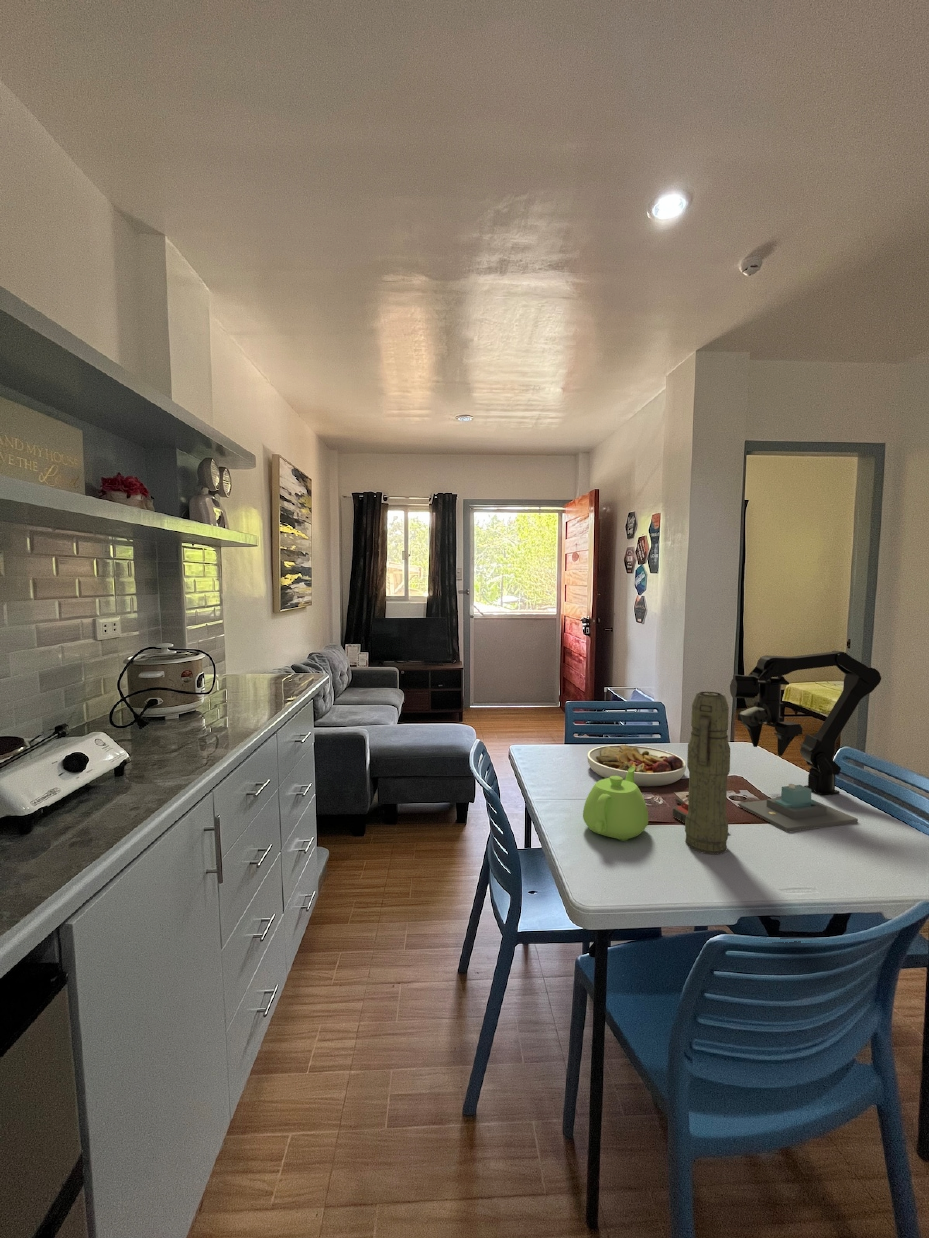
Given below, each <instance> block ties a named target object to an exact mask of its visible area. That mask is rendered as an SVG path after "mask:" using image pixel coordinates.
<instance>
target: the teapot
mask: <svg viewBox="0 0 929 1238" xmlns="http://www.w3.org/2000/svg"><path fill="white" fill-rule="evenodd" d="M634 772H635V767H633V766H632V767H630V768H629V770H628V772H627V776H626V779H625V780H623V778H622V777H620V776H610V777H609V778H601V779H599V780H597V782H595V783H594V785H593V786H592V788H591V790H590V791H589V792H588V794H587V797H586V799H585V802H584V806H583V811H582V812H583V813H582V819H583V821H584V823H585V825H586V826H587V827H588V829H589V830H590V831H591V832H593V833H595V834H599V835H601V836H604V837H609V838H612V839H613V838H614V839H617V840H618V841H623V842H627V841H628V840H629V839H633V838H635V837H638V836H639V835H640V834H642V833H643V831H644V830H645V829H646V828H647V826H648V824H649V821H650V820H649V811H648V806H647V803H646V800H645V799H644V796H643V793H642V792H641V790H640V788H639V786H637V785H636V784H634Z"/></svg>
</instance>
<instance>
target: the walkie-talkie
mask: <svg viewBox="0 0 929 1238" xmlns="http://www.w3.org/2000/svg"><path fill="white" fill-rule="evenodd" d="M674 800H675V802H677V803H679V804H680V805H676V806H675V805H674V806H673V807H672V817H673V816H674V817H676V818H678V819H680V820H681V821H683V822H684V823H685V818H686V816H687V814H688V801H687V802H686V801H684V800H683V799H680V798H679V797H675V799H674ZM674 817H673V818H674ZM681 821H680V822H681ZM684 823H683V824H684Z"/></svg>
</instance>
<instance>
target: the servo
mask: <svg viewBox="0 0 929 1238" xmlns="http://www.w3.org/2000/svg"><path fill="white" fill-rule="evenodd" d="M804 786H805V785H801V784H794V783H788V785H787V786H781V792H780V793H781V795H780V796H781V797H780V798H781V800H775V803H777V804H779V805H781V806H784V807H786V808H787V807H791V808H793V809H795V808H803V807H811V804H817V802H818V800H817V801H816V800H814V799H812V791H811V790H812V789H809V788H807V787H804Z"/></svg>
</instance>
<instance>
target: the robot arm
mask: <svg viewBox="0 0 929 1238" xmlns="http://www.w3.org/2000/svg"><path fill="white" fill-rule="evenodd" d="M825 667H826V668H827V667H836V668H837V669H838V670H839V671H840V672H842V673H844V675H845V676H844V678H843V688H842V692H841V694H840V695H839V697H838V698H837V700H836V702H835V703H834V705H833V707H832V708H831V709H830V712H829V713H828V716H827V717H826V719H825V720H824V722H823V723H822V724H821V727H820V728H819V730H818V731H817V732H816V733H815V734H813V735H810V734H809V733H808V734H806V735H805V737H804V740H803V741H802V742H801V743H800V744H799V746H800V749H799V752H800V755H801V757H802V759H803V760H805V763H806V765H807V766H809V767H810V768H809V769H808V776H807V777H808V779H807V784H806V785H803V786H804V787H807V788H809V789H812V790H811V792H813V793H816V794H819V795H821V796H826V795H827V796H828V795H836V794H840V793H841V792H840V791H839V790H837V789H836V776H838V775H840V773H841V769H842V767H840V765H839V764H838V763H836V761H834V760H833V759H834V756H835V753H836V742H837V740H838V738H839V737H840V735H841V733H842V732H843V730H844V728H845V727H846V725H847V724H848V721H849V720H850V719H851V717H852V715H853V713H854V712H855V710H856V709H857V707H858V705H859V704H860V702H861V700H862V699H863V698H865V697H867V695H869V694H871V693H872V692H873V691H874V690H875V689H876V688H877V687H878V686H879V685H880V684H881V681H882V676H881V673H880V672H879V670H878V669H876V668H874V667H870V666H867V665H865V663H862V662H860V661H859V660H857V659H855V658H853V657H852V656H851V655H849V654H848V653H847V652H845V651H841V650H831V651H827V652H819V653H812V654H810V653H809V654H802V655H793V656H786V655H785V656H784V655H771V654H770V655H767V654H766V655H762V656H760V657H759V659H758V660H757V663H756V666H755V667H754V668H753V669H752V670H751V671H750V673H749V674H748V675H743V674H742V675H741V674H733V675H732V679H731V682H730V684H729V692H730V695H731V697H732V698H734V699H737V698H738V699H755V698H756V697H758V698H757V699H758V700H755V701H754V703H753V707H749V708H747V709H745V710H743V711H742V710H741V711H739V712H738V713H737V722H740V724H741V725H743V726H744V727H745V728H746V729H747V731H748V732H747V733H748V734H749V737H750V741H751V743H752V746H753V747H754V748H757V747H758V745H759V742H760V739H761V734H762V728H763V725H766V726H768V727H772V728H774V730H775V732H774V733H773V734H774V735H775V737H776V739H777V756H779V757H782V756H783V755H784V753H785V752H786V750H787V749H788V747H789V745H790V744H791V742H792V741H793V740H794V738H795V737H799V735H803V725H802V724H801V723H797V722H794V721H790V720H789V721H784V717H783V716H781V708H784V707H785V706H784V705H785V704H784V703H783V702H781V698H782V695H781V694H782V685H783V686H786V685H790V681H788V680H787V679H786V678H785V676H786V675H789V674H791V673H794V672H796V671H801V670H810V669H818V668H825Z"/></svg>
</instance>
